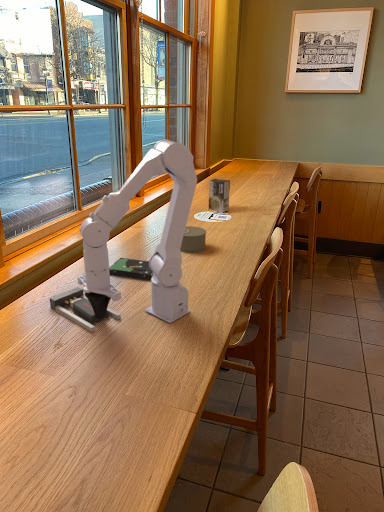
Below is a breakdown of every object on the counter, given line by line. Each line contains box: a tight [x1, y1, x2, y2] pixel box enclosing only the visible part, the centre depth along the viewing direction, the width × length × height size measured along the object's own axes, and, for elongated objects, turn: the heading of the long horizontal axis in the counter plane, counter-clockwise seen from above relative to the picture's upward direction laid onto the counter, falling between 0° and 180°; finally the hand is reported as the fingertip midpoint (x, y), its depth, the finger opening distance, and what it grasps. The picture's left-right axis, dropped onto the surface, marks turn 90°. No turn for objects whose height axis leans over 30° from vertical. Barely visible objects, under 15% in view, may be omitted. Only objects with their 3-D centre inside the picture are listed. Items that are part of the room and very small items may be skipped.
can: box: [180, 226, 207, 254], centre depth 149 cm, size 12×12×7 cm
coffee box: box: [208, 178, 231, 213], centre depth 200 cm, size 9×6×16 cm
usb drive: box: [69, 298, 110, 325], centre depth 103 cm, size 5×12×3 cm, turn 46°
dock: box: [48, 286, 122, 333], centre depth 102 cm, size 18×9×3 cm, turn 50°
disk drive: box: [109, 257, 153, 281], centre depth 128 cm, size 10×3×15 cm
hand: (100, 316), depth 98 cm, fingers closed
